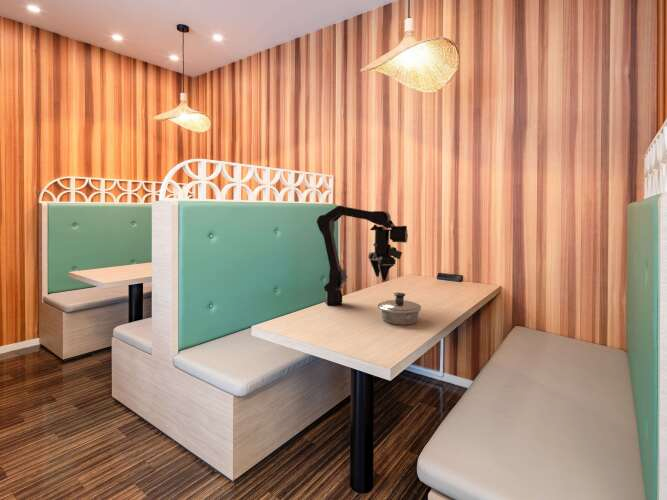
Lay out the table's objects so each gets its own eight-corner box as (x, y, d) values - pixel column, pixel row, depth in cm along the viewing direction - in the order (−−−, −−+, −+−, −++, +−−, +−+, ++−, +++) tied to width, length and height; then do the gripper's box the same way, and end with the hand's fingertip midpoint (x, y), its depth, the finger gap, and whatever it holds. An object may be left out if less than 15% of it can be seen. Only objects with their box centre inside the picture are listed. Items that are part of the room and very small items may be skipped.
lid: (384, 314, 132) (385, 299, 131) (373, 303, 148) (373, 289, 147) (428, 312, 134) (428, 297, 134) (412, 302, 150) (412, 288, 149)
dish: (389, 313, 151) (390, 301, 151) (423, 318, 144) (423, 306, 143) (374, 322, 139) (374, 309, 139) (409, 328, 132) (410, 314, 131)
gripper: (408, 243, 148) (407, 282, 150) (392, 239, 166) (391, 274, 168) (381, 243, 146) (380, 283, 148) (368, 239, 164) (367, 274, 166)
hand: (380, 278), depth 157 cm, fingers open, 9 cm apart
